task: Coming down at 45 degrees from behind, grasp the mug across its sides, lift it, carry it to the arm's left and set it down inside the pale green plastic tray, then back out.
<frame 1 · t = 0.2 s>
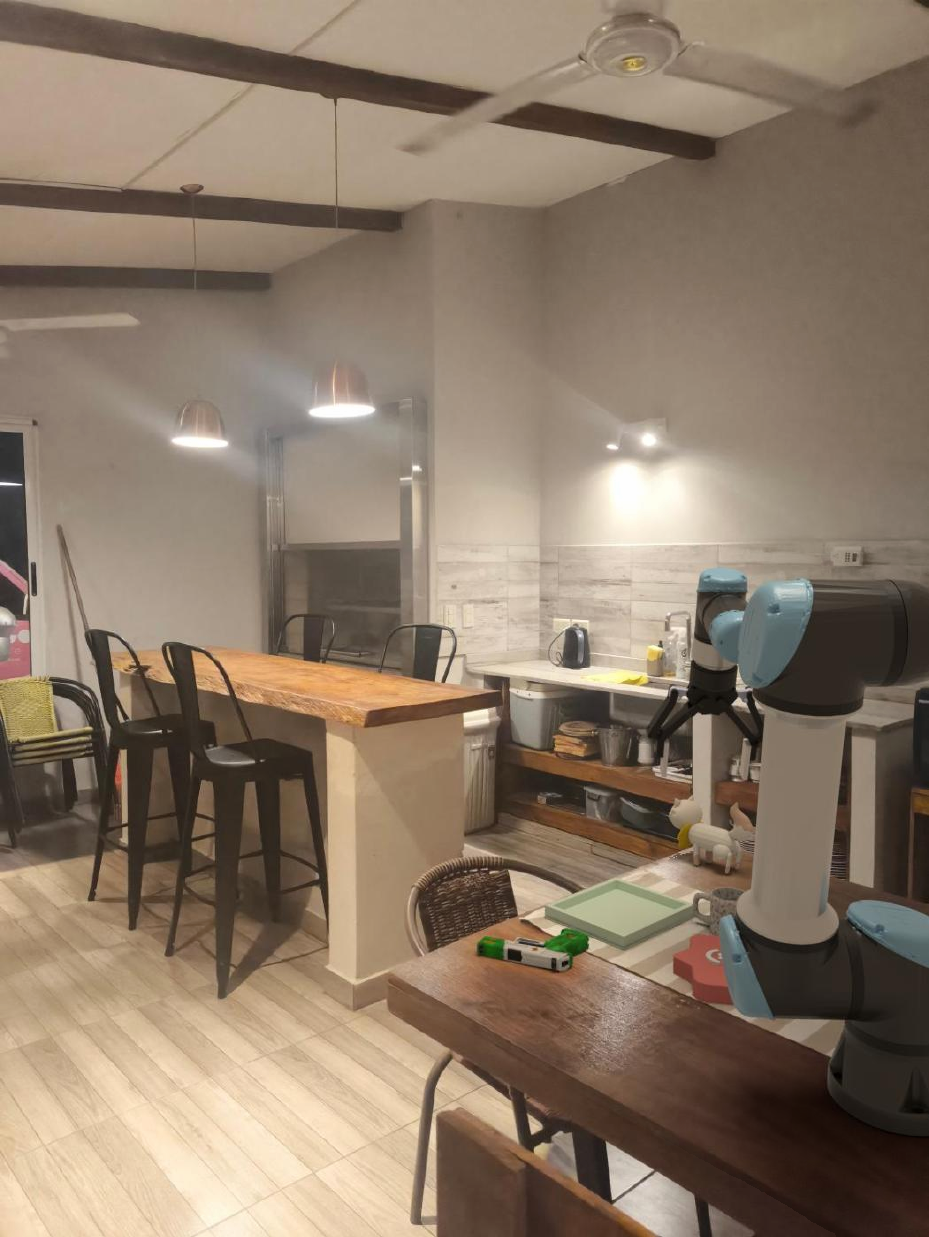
hand: (703, 774, 161), 27 cm above the table, tool tilted 15°, fingers open, 13 cm apart
mug: (720, 930, 164), on the table
plaque: (721, 980, 146), on the table
tray: (619, 916, 169), on the table
handgun: (534, 954, 156), on the table
toy: (712, 867, 194), on the table
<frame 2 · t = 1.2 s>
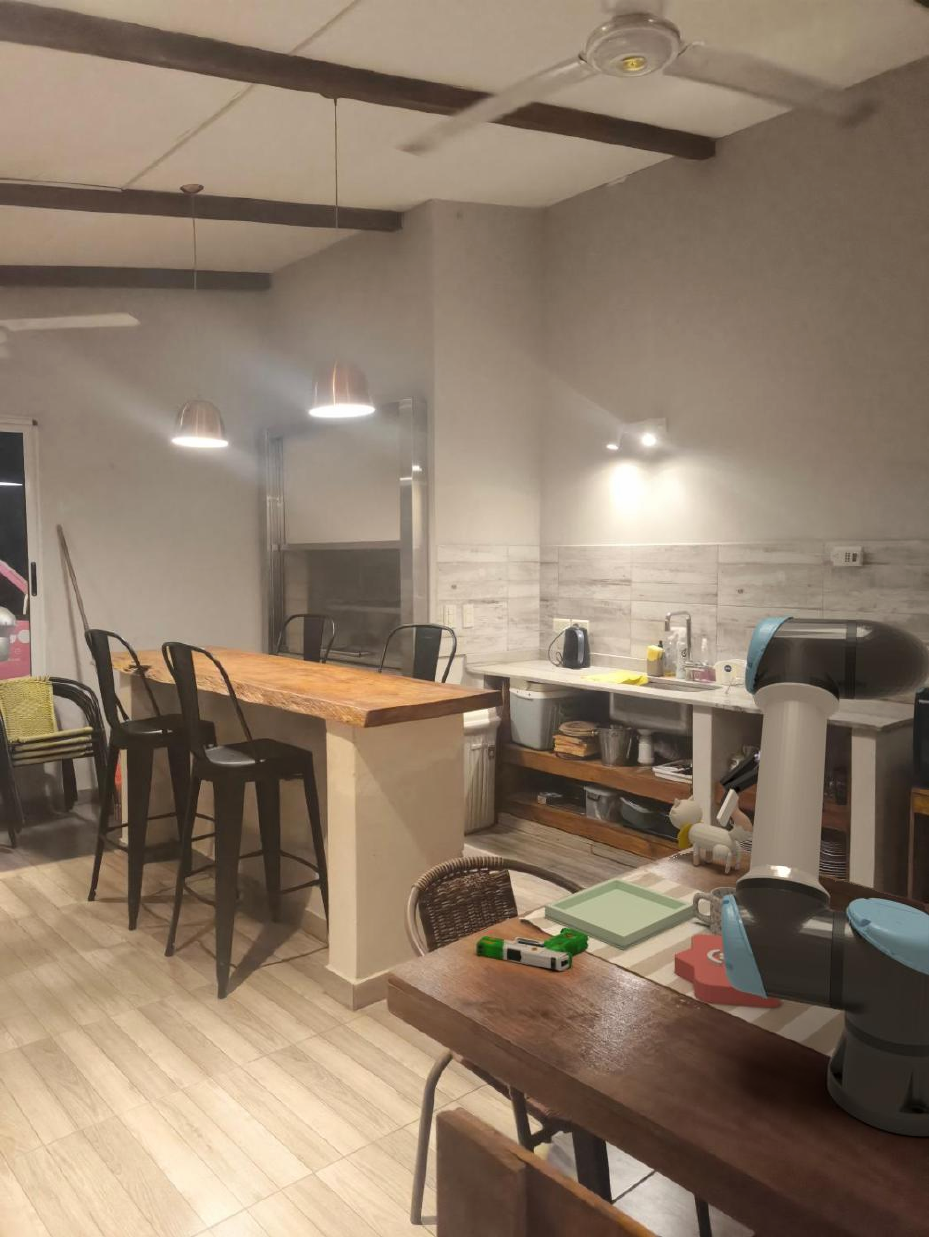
hand: (753, 831, 169), 15 cm above the table, tool tilted 45°, fingers open, 13 cm apart
nothing on the table moved.
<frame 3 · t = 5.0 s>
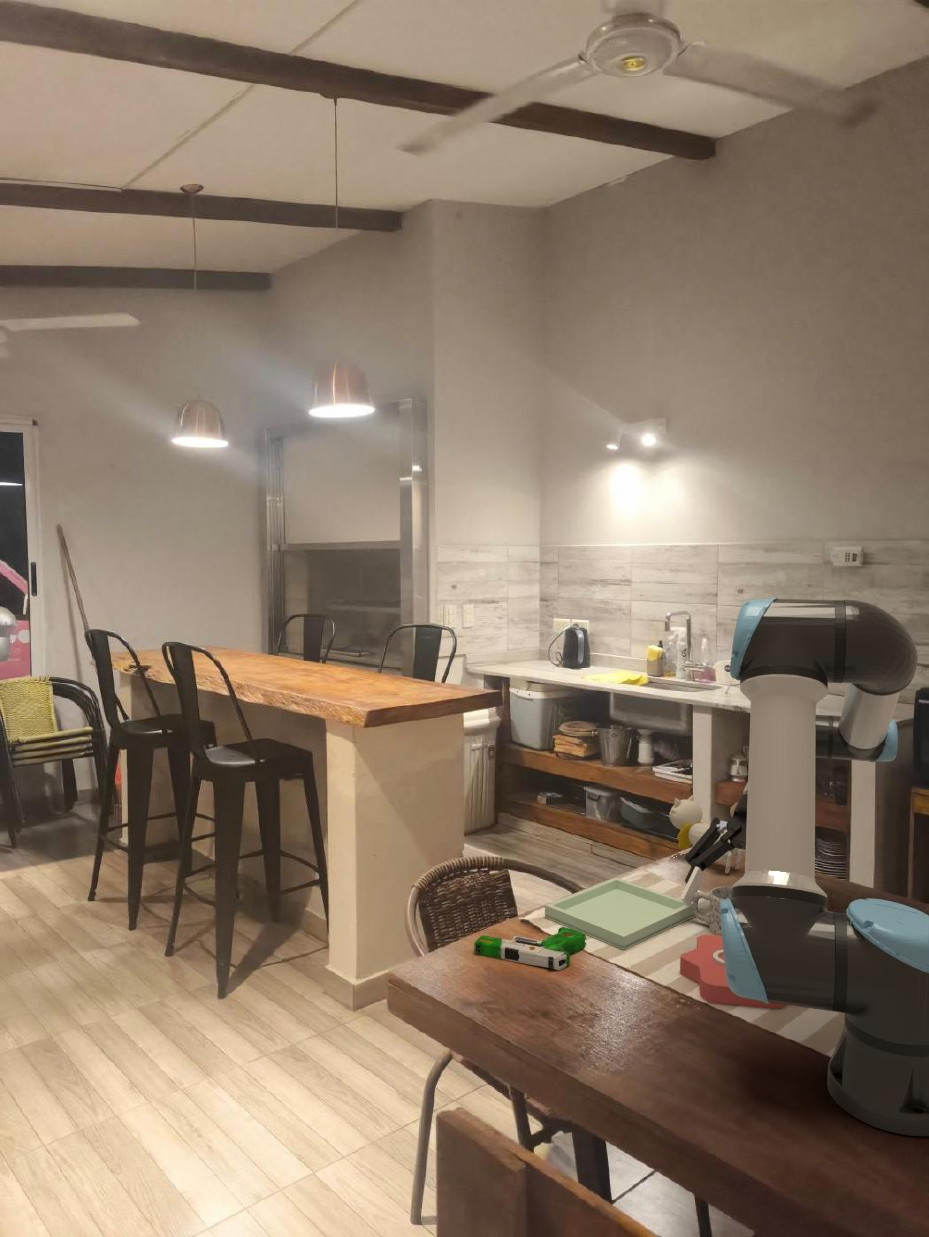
hand: (710, 911, 161), 4 cm above the table, tool tilted 45°, fingers closed on mug, 10 cm apart
mug: (719, 929, 164), on the table, touching gripper
when the fingers open (5 cm above the table, at t = 11.3 s): mug stays where it is, resting on tray.
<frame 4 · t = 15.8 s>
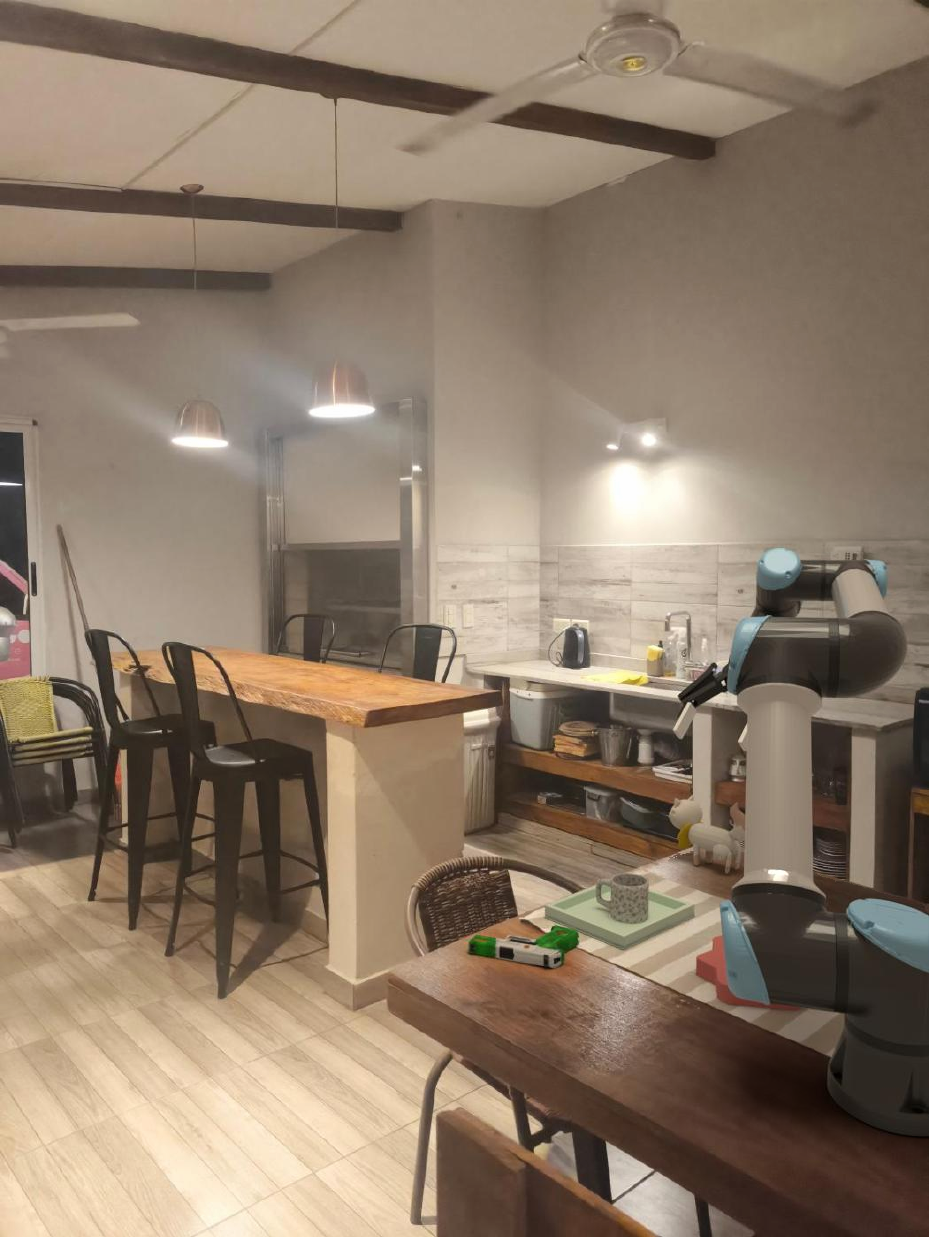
hand: (708, 740, 168), 32 cm above the table, tool tilted 45°, fingers open, 13 cm apart
mug: (620, 915, 169), resting on tray
plaque: (745, 982, 146), on the table
handgun: (524, 951, 157), on the table
everything else where it was.
at the end: mug inside the target area on the tray (0.2 cm from its centre), point 0.4 cm above the tray's base; the gripper is holding nothing; mug moved 17.3 cm from its start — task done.
